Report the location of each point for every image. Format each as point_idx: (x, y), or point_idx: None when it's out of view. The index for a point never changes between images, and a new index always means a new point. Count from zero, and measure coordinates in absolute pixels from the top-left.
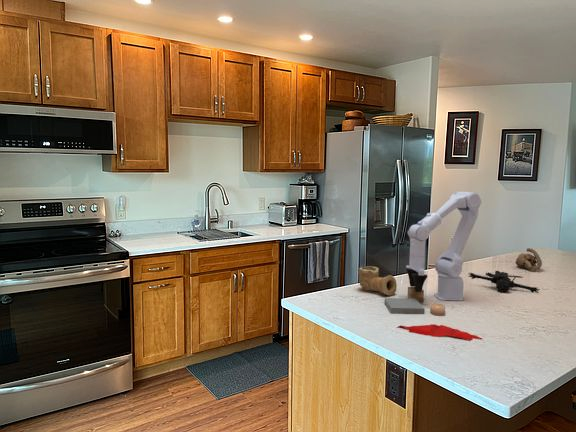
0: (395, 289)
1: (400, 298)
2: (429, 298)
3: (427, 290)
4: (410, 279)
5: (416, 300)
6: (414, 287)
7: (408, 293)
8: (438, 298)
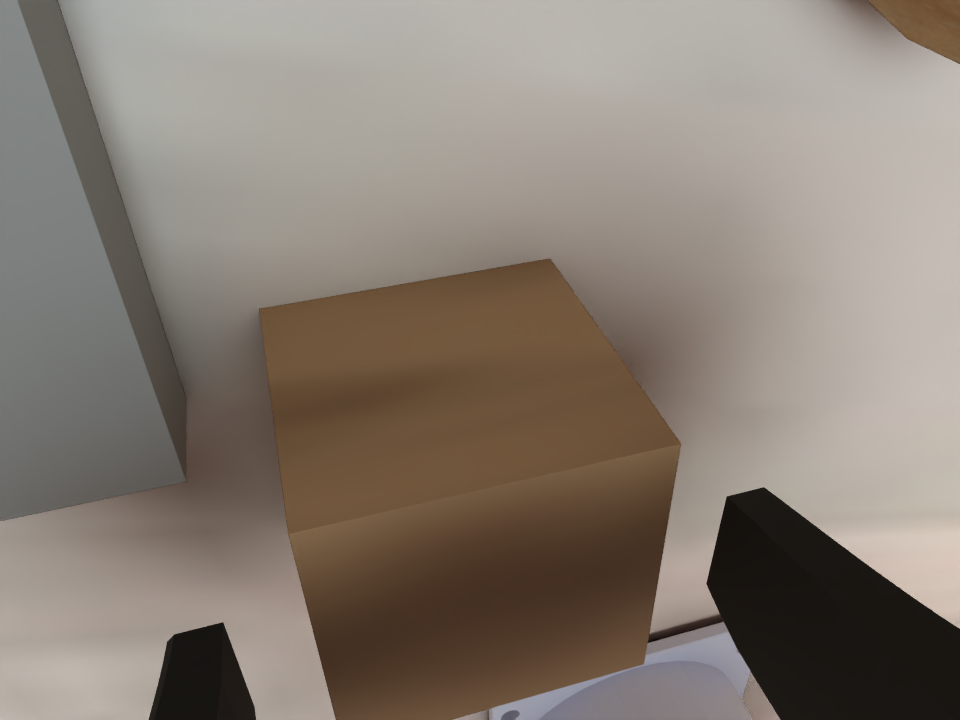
0: (950, 41)
1: (27, 94)
2: None
3: (947, 536)
4: (872, 657)
5: (7, 502)
6: (610, 578)
7: (519, 358)
8: None
